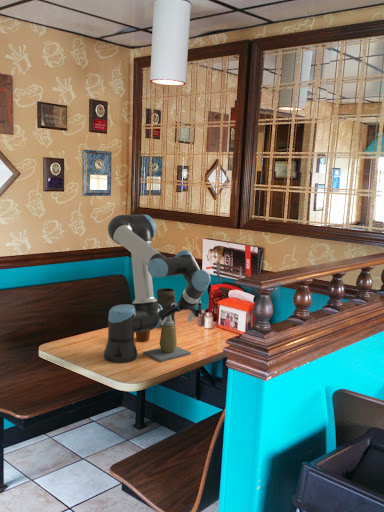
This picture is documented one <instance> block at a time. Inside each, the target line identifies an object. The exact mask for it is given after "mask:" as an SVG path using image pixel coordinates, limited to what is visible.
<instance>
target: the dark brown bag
mask: <svg viewBox="0 0 384 512" xmlns="http://www.w3.org/2000/svg"><path fill="white" fill-rule="evenodd" d="M175 294H176V292H175V289H173V288H168V287H165V288H164V287H162V288H158V289H156V299H157V302H158V304H160V305H161V306H162V308H165V307H166V306H168V305H169V304H170V303H171V302H172V301H174V303H177V302H176V295H175ZM175 314H176V312H175V313H173V314H171V319H172V321H174V326H176V318H175ZM166 320H167V319H166ZM163 325H164V324H163ZM163 325H160V326H159V327H162V326H163Z"/></svg>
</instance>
